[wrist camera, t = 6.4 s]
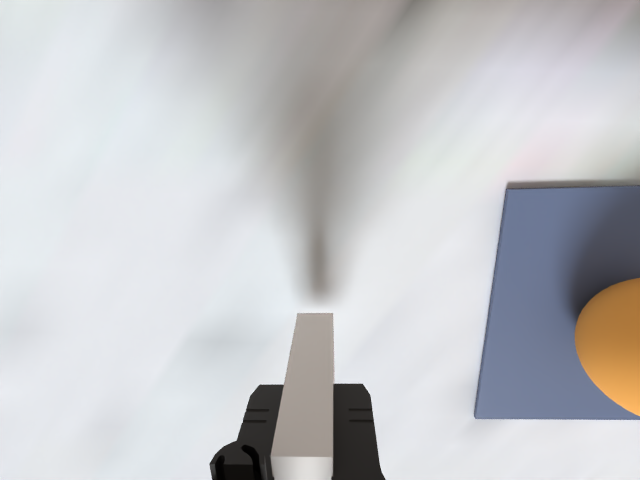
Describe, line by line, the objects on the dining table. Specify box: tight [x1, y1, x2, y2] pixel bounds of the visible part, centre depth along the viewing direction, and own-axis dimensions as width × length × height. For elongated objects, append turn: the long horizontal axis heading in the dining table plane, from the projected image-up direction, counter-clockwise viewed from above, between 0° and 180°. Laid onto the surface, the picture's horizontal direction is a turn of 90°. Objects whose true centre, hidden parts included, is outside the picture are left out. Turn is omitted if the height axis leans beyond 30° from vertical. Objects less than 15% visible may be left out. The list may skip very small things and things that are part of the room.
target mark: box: [474, 186, 640, 420], centre depth 16 cm, size 12×12×1 cm
